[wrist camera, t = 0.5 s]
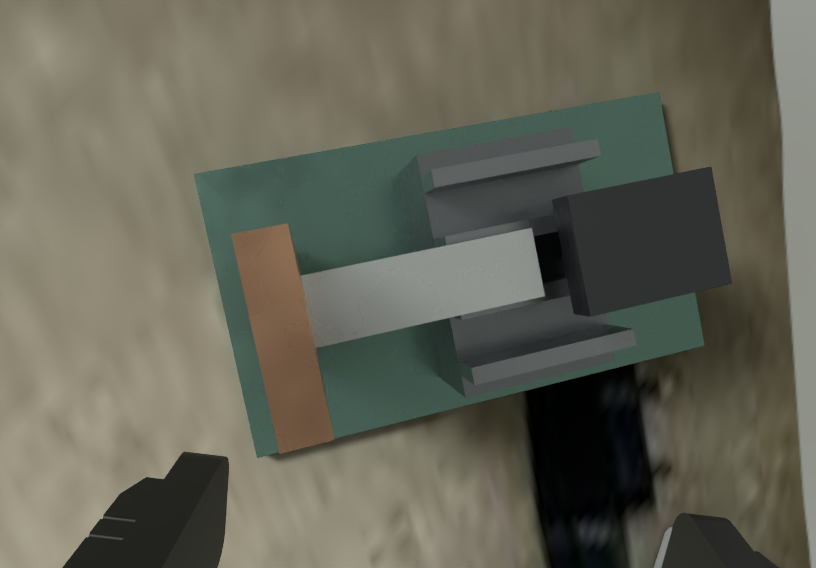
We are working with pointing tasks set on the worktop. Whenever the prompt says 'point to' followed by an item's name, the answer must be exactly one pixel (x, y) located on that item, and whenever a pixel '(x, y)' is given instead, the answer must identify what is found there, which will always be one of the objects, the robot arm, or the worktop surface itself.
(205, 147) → the worktop surface
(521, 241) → the upright wooden plank
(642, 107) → the base
